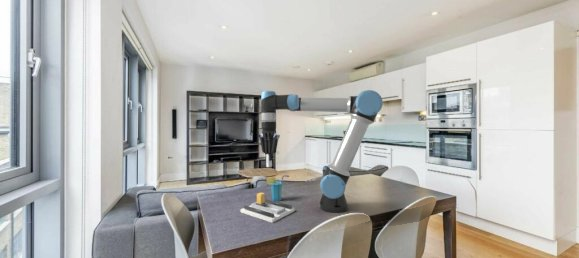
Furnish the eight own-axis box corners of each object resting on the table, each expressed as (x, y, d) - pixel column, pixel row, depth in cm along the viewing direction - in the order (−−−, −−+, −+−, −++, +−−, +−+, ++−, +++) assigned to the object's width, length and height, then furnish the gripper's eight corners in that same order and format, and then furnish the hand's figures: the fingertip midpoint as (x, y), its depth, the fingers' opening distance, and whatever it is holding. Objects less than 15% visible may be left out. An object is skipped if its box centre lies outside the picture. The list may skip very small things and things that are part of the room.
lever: (265, 206, 126) (265, 193, 126) (261, 208, 124) (261, 194, 124) (260, 204, 128) (260, 192, 128) (256, 206, 126) (256, 193, 126)
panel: (294, 211, 124) (294, 205, 124) (272, 222, 109) (272, 215, 109) (264, 202, 137) (264, 197, 137) (240, 212, 123) (240, 205, 122)
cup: (287, 197, 148) (287, 173, 147) (290, 200, 140) (290, 176, 140) (265, 198, 144) (265, 174, 144) (267, 203, 137) (267, 177, 136)
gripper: (283, 121, 121) (283, 166, 121) (264, 121, 128) (264, 164, 129) (273, 121, 115) (273, 169, 115) (254, 121, 122) (255, 166, 123)
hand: (269, 166), depth 122 cm, fingers closed
